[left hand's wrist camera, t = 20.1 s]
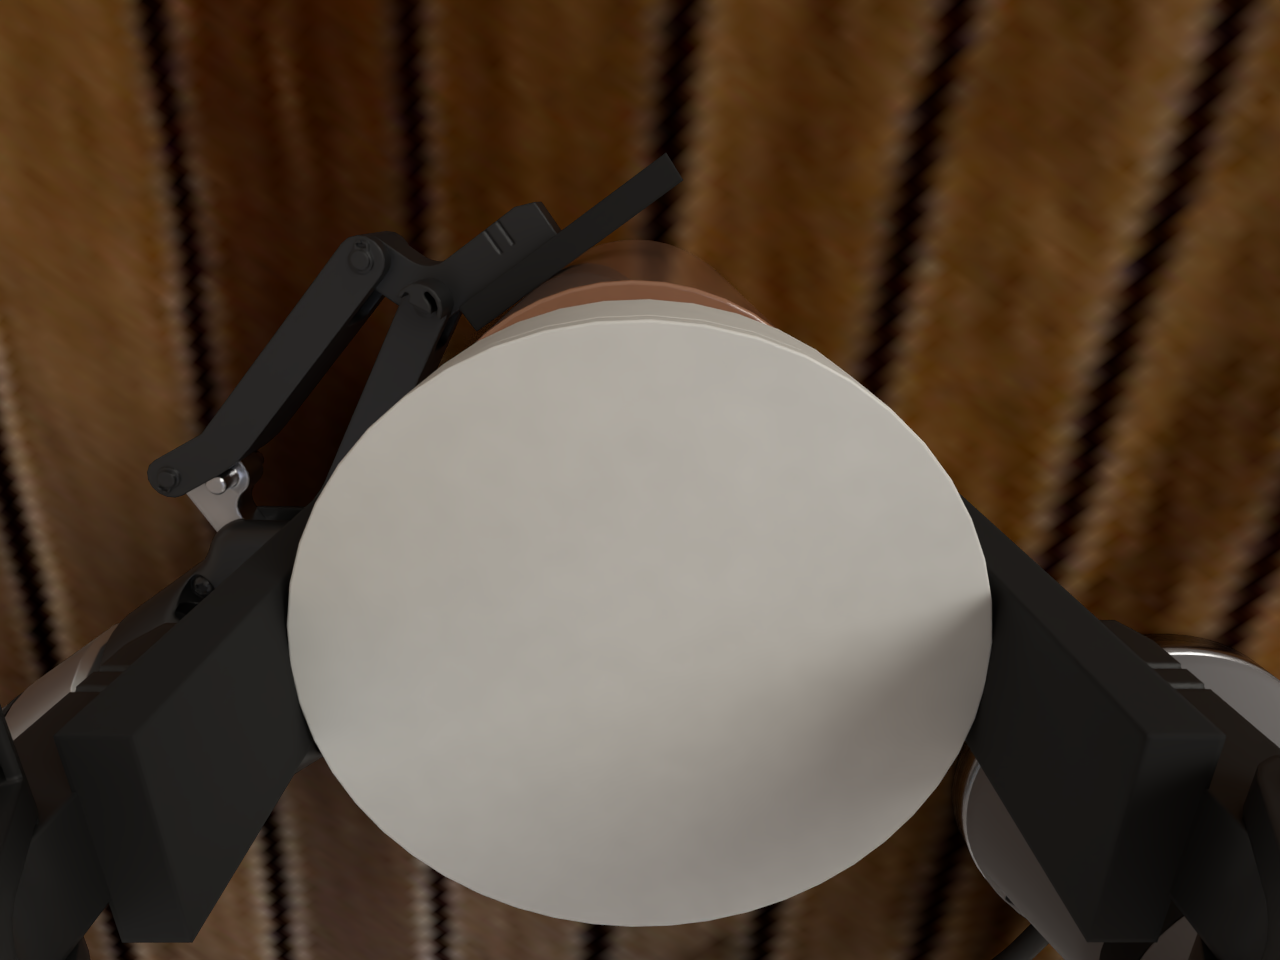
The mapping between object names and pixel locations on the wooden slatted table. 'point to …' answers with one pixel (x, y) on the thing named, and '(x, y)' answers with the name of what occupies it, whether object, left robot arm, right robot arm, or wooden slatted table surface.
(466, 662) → the lid
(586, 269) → the jar
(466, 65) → the wooden slatted table surface
